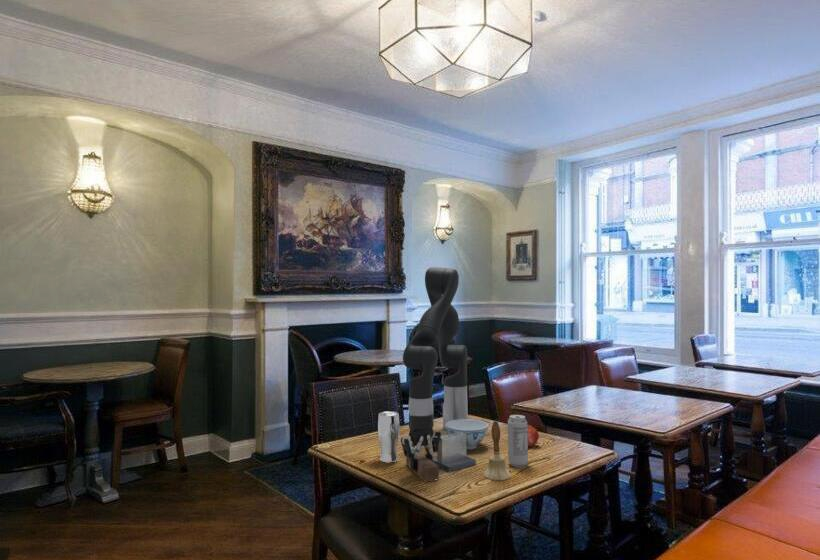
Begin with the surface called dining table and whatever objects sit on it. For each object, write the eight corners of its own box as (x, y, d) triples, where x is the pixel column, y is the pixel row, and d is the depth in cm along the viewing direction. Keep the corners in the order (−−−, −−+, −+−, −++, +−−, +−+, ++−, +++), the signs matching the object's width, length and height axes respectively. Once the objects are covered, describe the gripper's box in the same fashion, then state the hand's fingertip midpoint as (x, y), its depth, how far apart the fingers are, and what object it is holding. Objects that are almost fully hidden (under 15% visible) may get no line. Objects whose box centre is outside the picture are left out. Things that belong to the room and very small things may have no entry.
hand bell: (492, 482, 146) (492, 425, 146) (477, 473, 154) (477, 419, 154) (517, 478, 149) (516, 422, 150) (501, 469, 157) (500, 416, 157)
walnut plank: (406, 464, 162) (406, 451, 162) (418, 463, 163) (418, 450, 163) (425, 481, 147) (425, 467, 147) (438, 480, 148) (438, 466, 148)
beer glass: (389, 455, 171) (389, 410, 171) (404, 460, 166) (403, 413, 166) (373, 460, 166) (373, 413, 167) (388, 465, 161) (387, 417, 162)
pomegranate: (520, 448, 185) (509, 436, 179) (528, 430, 188) (517, 417, 182) (538, 454, 180) (527, 442, 174) (546, 436, 183) (535, 423, 177)
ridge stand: (428, 463, 163) (428, 434, 163) (455, 456, 169) (454, 429, 169) (448, 471, 155) (448, 441, 155) (475, 464, 161) (475, 435, 161)
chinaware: (497, 447, 179) (497, 425, 179) (466, 456, 170) (465, 432, 170) (467, 438, 191) (467, 417, 191) (436, 445, 182) (436, 423, 182)
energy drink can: (524, 461, 164) (523, 413, 164) (530, 467, 158) (529, 418, 158) (505, 462, 163) (505, 414, 164) (511, 468, 157) (511, 419, 158)
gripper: (432, 406, 163) (432, 460, 162) (394, 413, 154) (395, 470, 154) (447, 410, 157) (447, 467, 156) (408, 417, 148) (409, 477, 148)
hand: (421, 468), depth 155 cm, fingers closed on walnut plank, 4 cm apart
